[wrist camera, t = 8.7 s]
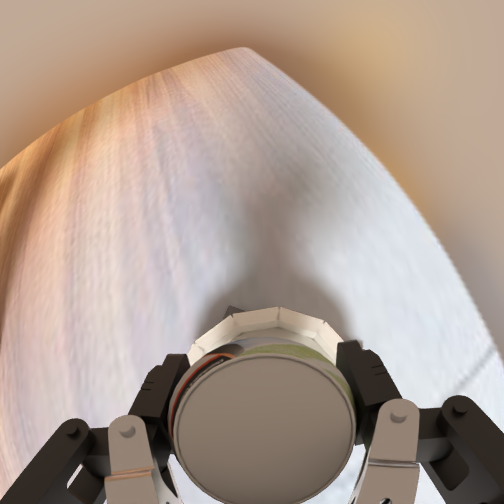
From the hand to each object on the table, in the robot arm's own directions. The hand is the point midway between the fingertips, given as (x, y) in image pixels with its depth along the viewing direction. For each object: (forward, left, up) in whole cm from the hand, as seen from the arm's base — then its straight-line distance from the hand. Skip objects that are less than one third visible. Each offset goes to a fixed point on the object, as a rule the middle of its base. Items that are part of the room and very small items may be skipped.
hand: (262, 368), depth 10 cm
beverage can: (0, -2, -8) cm, 8 cm away
